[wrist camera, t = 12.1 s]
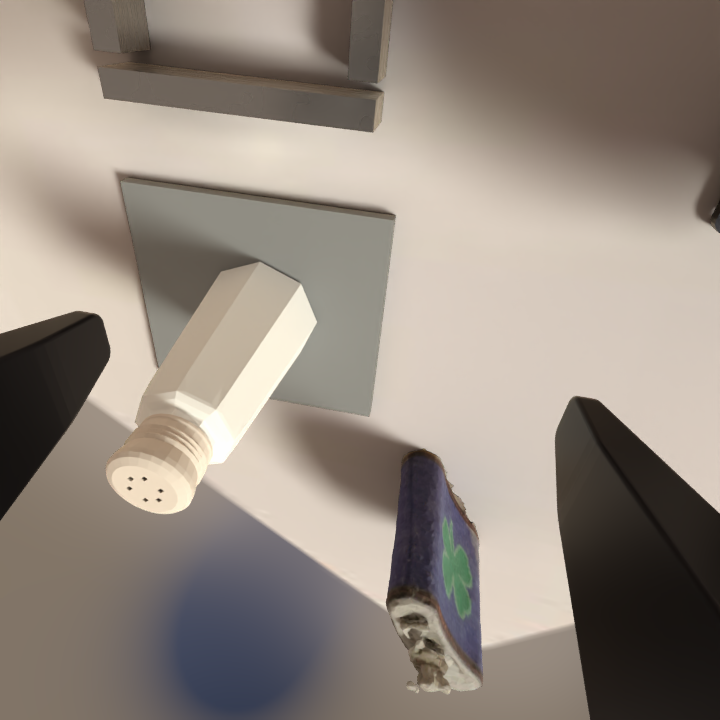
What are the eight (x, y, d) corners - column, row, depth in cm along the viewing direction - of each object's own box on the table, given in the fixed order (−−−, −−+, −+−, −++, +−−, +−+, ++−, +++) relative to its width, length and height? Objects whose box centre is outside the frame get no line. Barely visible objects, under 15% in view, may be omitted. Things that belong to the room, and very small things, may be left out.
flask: (484, 542, 32) (490, 736, 24) (442, 547, 33) (433, 734, 25) (436, 444, 28) (421, 637, 19) (389, 453, 29) (355, 640, 20)
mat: (395, 215, 21) (394, 220, 20) (371, 409, 27) (369, 416, 27) (127, 177, 22) (120, 181, 21) (166, 372, 28) (161, 379, 28)
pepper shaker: (188, 299, 24) (29, 466, 15) (260, 236, 22) (117, 394, 13) (266, 373, 26) (164, 559, 17) (340, 324, 23) (265, 514, 15)
